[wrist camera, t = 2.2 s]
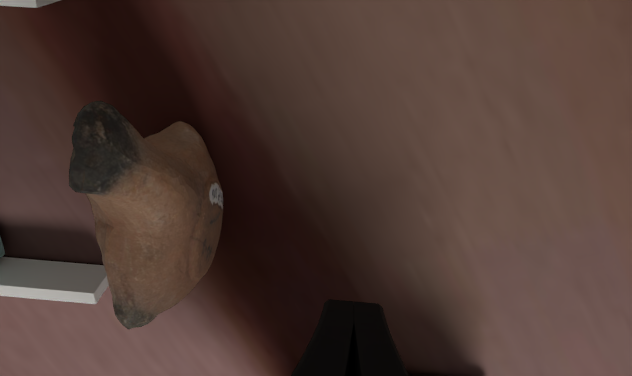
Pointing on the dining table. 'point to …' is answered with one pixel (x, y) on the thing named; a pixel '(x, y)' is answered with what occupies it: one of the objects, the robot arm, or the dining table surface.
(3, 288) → the pusher lane
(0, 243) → the panel
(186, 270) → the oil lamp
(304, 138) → the dining table surface
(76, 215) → the dining table surface
